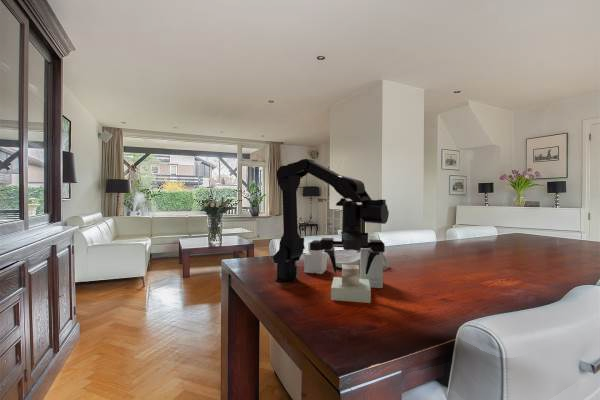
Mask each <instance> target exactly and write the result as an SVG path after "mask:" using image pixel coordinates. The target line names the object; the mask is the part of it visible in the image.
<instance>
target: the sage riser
mask: <svg viewBox="0 0 600 400" xmlns="http://www.w3.org/2000/svg"><path fill="white" fill-rule="evenodd" d="M332 279H333V280H332V282H331V286H330V287H331V289H330V301H342V302H353V303H366V304H367V303H368V304H371V302H372V301H371V300H372V299H371V298H372V297H371V296H372V295H371V293H372V292H371V291H372V289H371V287H370V283H369V279H360V278H359V286H343V285H342V276H341V277H339V276H338V277H337V276H333V278H332Z"/></svg>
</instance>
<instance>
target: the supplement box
mask: <svg viewBox="0 0 600 400" xmlns="http://www.w3.org/2000/svg"><path fill="white" fill-rule="evenodd" d="M368 249H369V248H361V250H359V251H360V264H359V279H369V283H370V288H373V289H374V288H377V289H382V288H384V287H383V286H384V284H383V283H384V279H383V278H384V266H383V255H384V252H379V253H380V254H379V255H376V256H375V257H374V259H373V261H372V263H371V266H370V268H369V271H368V274H366V262H367V254H368Z"/></svg>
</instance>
